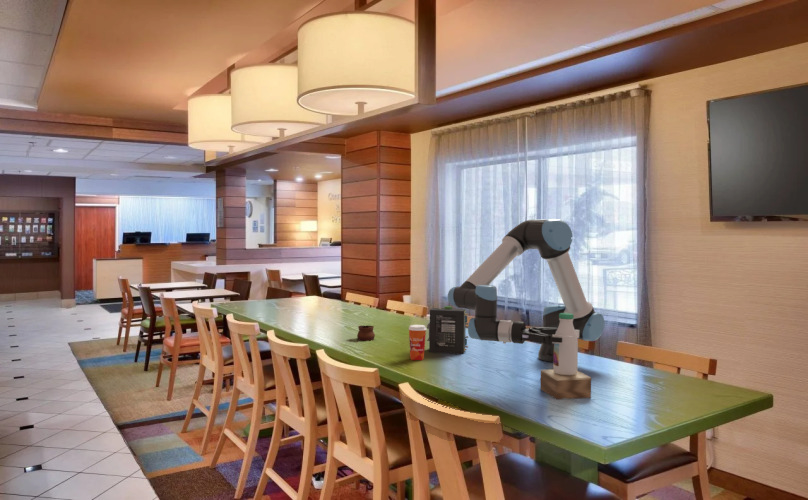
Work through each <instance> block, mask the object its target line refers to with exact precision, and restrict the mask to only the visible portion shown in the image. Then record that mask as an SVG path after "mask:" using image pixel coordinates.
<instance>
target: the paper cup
mask: <svg viewBox="0 0 808 500" xmlns="http://www.w3.org/2000/svg"><path fill="white" fill-rule="evenodd" d="M408 332H409V333H408V337H409V338H408V339H409V357H410V360H411V361H415V360H420V361H423V360H424V359H425V348H426V347H425V345H426V334H427V326H426V325H425V324H410V325H409V326H408Z"/></svg>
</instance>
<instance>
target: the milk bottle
mask: <svg viewBox="0 0 808 500" xmlns="http://www.w3.org/2000/svg"><path fill="white" fill-rule="evenodd" d="M573 317H574V316H573V314H571V313H560V314H559V320H560V323H559V327H558V329H557V331H556V333H555V335H563V336H573V345H565V344H554V360H553V362H552V363H553V364H552V365H553V368H552V369H553V371H554V373H556V374H559V375H576V374H577V371H578V360H579V359H578V357H579V356H578V353H579V352H578V351H579V349H578V348H579V347H578V346H579V344H578V343H579V342H578V341H579V339H577V334H576V332H575V329H574V327H573Z"/></svg>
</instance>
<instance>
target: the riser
mask: <svg viewBox="0 0 808 500" xmlns="http://www.w3.org/2000/svg"><path fill="white" fill-rule="evenodd" d="M540 378H541V380H540V390H541V391H542V392H544V393H546V394H547V395H549V396H551V397H552V396H553V397H552V398H553V399H555V398H556V400H564V399H563V398H567V399H566V400H569V398H570V399H589V398H591V397H592V377H591V376H589V375H587V374H585V373H583V372H581V371H579V370H577V374H576V375H559V374H556V373H554V371H553V368H552V369H540Z"/></svg>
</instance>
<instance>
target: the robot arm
mask: <svg viewBox="0 0 808 500" xmlns="http://www.w3.org/2000/svg"><path fill="white" fill-rule="evenodd" d="M572 238H573V231H572V229H571V226H570V225H569V224H568V223H567V222H566V221H564V220H562V219H558V218H546V219H543V218H542V219H533V218H532V219H527V220H525V221H522V222H520V223H519V224H518V225H516V226H515V227H514V228H512V229H511V230H510V231H508V233H507V234H506V235H505V236H504V237H502V239H501V240H502V241H501V243H500V244H499V245H498V246H497V248H496V249H495V250H494V251H493V252H492V253H491V254H490V255H489V256H488V257H487V258H485V260H484V261H483V262H482V263H481V264H480V265H479V266H478V267H477V269H475V270H474V271H473V272H472V273H471V274H470V276H469V277H468V278H467V279H466V280H465V281H464V282H463V283H462V284H461V285H460V286H454V287H451V288H450V289H449V290H448V292H447V301H448V303H449V304H450V305H451V307H452V306H453V307H454V308H455V307H456V308H457V309H466V310H471V311H472V310H473V311H474V312H475V313H474V315H475V316H474V317H471V318H470V319H469V322H468V325H467V334H468V337H469V338H471V340H472V339H474V340H479V341H489V342H500V343H501V342H502V344H504V345H506V343H513V344H522V345H523V344H524V343H525V341H529V342H535V343H539V344H540V343H541V345H540V347H539V350H538V353H537V354H538V355H537V358H538V359H539V360H541V361H545V362H549V363H553V360H554V344H565V345H573V336H563V335H555V333H556V331H557V329H558V327H559V323H560V320H559V314H560V313H571V314H573V316H574V317H573V327H574V329H575V332H576V334H577V339H578V340H582V341H585V342H594V341H597V340H598V339H599V338H600V337H601V335H602V334H603V332H604V329H605V324H606V323H605V322H606V321H605V318H604V315H603V314H602V313H600V312H597V311H595V308H594V307H593V304H592V303H591V302H589V301H587V299H586V296H585V294H584V291H583V289H582V285H581V282H580V280H579V278H578V275H577V272H576V271H575V270H576V269H575V266H574V264H573V262H572V259H571V255H570V254H569V252H570V251H571V245H572V242H573V239H572ZM527 250H528V251H529V250H538V253H539V254H540V258H541V259H543V260H545V261H546V262H547V265H548V267H549V270H550V272H551V275H552V277H553V279H554V283H555V285H556V287H557V289H558V292H559V295H560V298H561V301H562V303H563V304H558V305H557V304H554V305H547V306H544V308H543V314H542V326H541V327H539V326H538V327H537V326H530V327H528V328H527V327H526V326H527V325H526V323H525V321H516V320H514V321H513V320H505V319H498V318H497V311H498V309H497V307H498V289H497V286H495V285H492V282H493V281H495V280H496V278H497V277H498V276H499V275H500V274H501V273H502V272H503V271H504V270H505V269H506V268H507V267H508V265H510V263H511V262H512V261H513V260H514V259H515V258H516V257H517V256H521V255H522V254H523V253H524V252H526V251H527Z"/></svg>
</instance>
